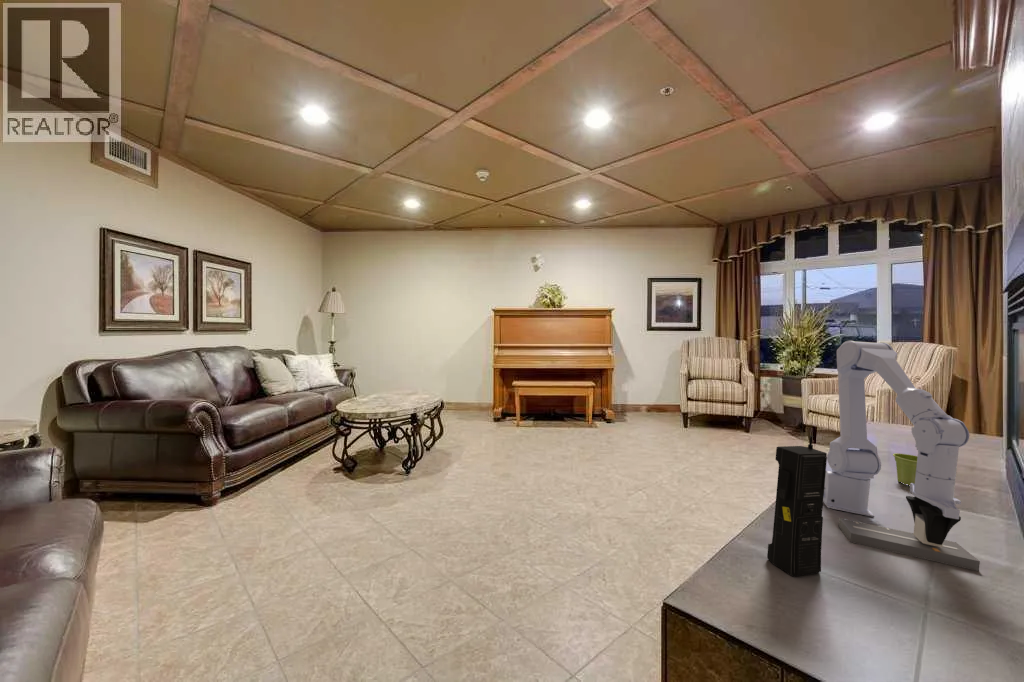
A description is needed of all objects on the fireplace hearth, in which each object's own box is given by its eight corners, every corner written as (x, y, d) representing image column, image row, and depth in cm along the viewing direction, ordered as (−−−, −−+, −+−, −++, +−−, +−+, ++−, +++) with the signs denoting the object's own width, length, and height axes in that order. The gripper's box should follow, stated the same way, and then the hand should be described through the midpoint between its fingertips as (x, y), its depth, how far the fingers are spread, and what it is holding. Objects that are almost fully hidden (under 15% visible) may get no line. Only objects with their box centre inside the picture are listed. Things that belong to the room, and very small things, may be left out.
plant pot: (883, 479, 129) (885, 453, 128) (902, 478, 132) (904, 452, 131) (920, 491, 120) (923, 463, 119) (939, 489, 123) (942, 462, 122)
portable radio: (790, 579, 71) (803, 443, 70) (761, 560, 77) (772, 433, 76) (823, 575, 73) (835, 442, 72) (792, 556, 79) (803, 433, 78)
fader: (922, 543, 83) (924, 521, 83) (913, 534, 87) (915, 513, 86) (942, 547, 82) (945, 525, 81) (932, 538, 85) (934, 517, 85)
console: (850, 541, 86) (851, 532, 86) (838, 526, 94) (839, 517, 94) (978, 571, 78) (979, 560, 78) (955, 551, 85) (956, 541, 85)
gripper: (984, 491, 75) (976, 561, 76) (942, 468, 88) (935, 528, 89) (934, 483, 78) (927, 550, 79) (900, 462, 91) (894, 519, 92)
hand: (928, 537), depth 84 cm, fingers closed on fader, 4 cm apart
